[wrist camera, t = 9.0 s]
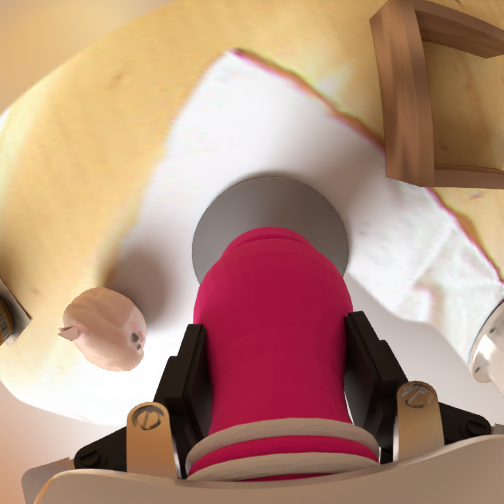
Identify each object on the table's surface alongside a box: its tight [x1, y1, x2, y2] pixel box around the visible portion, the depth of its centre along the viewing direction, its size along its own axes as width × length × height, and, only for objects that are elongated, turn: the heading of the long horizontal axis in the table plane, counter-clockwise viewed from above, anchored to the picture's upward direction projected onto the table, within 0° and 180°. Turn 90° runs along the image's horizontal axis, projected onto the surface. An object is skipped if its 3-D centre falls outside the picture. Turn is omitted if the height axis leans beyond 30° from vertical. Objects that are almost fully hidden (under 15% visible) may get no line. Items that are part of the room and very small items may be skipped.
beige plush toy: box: [58, 287, 147, 371], centre depth 20 cm, size 7×6×8 cm
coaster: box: [192, 177, 348, 285], centre depth 21 cm, size 11×11×1 cm
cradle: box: [370, 0, 504, 189], centre depth 15 cm, size 12×12×5 cm
